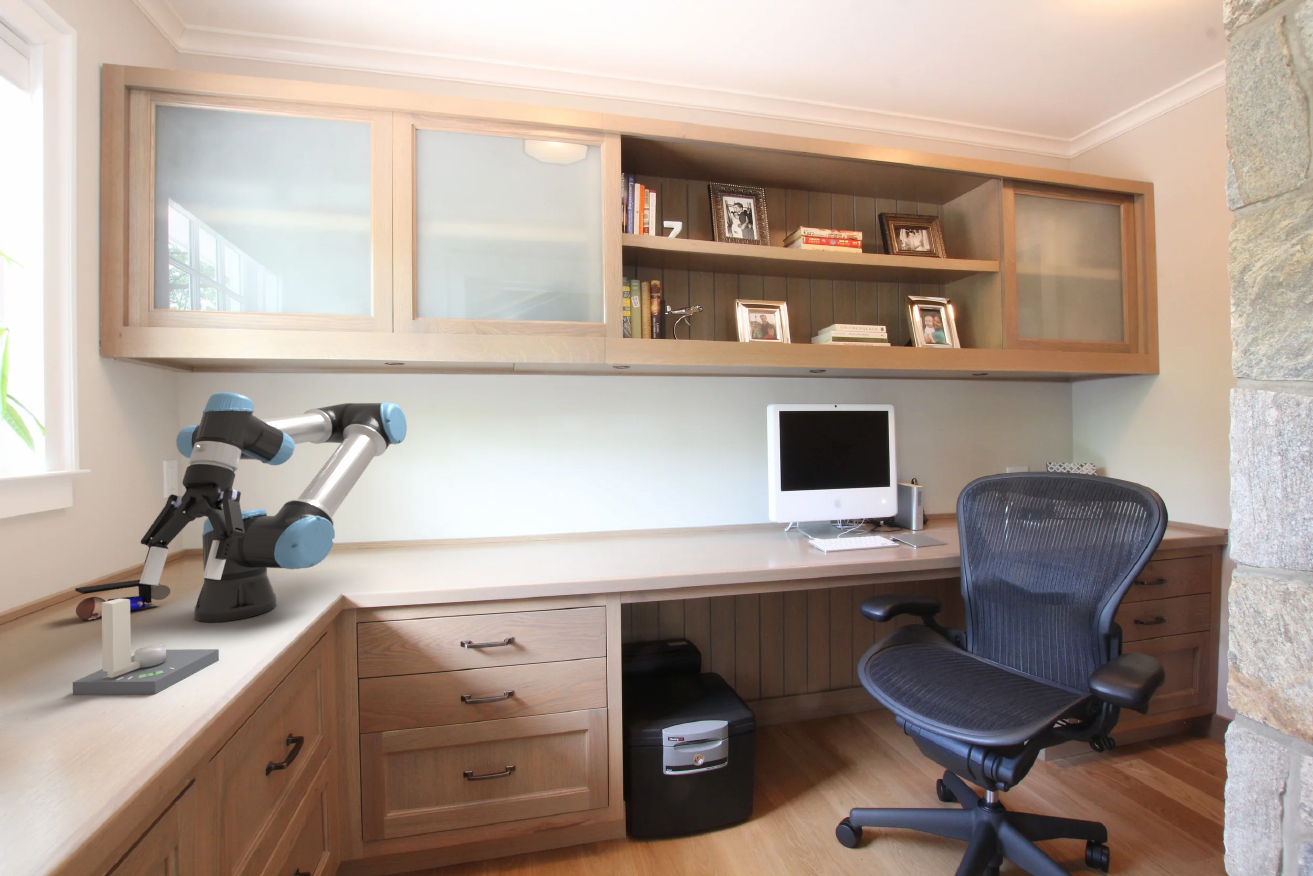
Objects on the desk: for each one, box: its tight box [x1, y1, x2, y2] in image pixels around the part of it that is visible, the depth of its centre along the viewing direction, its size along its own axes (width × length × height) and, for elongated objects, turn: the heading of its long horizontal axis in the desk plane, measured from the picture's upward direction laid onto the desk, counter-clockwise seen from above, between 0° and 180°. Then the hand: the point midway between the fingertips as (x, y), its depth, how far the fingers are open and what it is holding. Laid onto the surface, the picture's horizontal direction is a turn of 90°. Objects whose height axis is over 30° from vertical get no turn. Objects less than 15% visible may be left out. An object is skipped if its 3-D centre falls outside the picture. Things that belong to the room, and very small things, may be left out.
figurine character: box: [74, 579, 171, 621], centre depth 129 cm, size 7×8×15 cm
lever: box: [101, 597, 167, 678], centre depth 93 cm, size 8×4×12 cm, turn 166°
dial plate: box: [72, 648, 220, 696], centre depth 95 cm, size 13×13×2 cm
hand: (179, 581), depth 99 cm, fingers open, 13 cm apart
